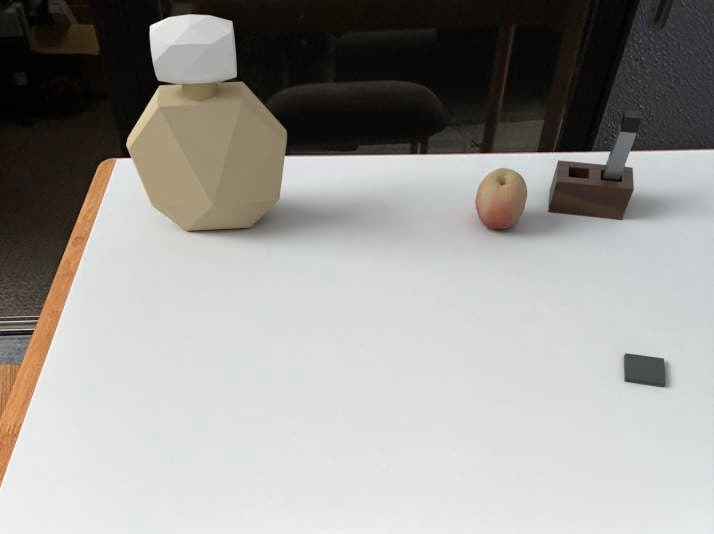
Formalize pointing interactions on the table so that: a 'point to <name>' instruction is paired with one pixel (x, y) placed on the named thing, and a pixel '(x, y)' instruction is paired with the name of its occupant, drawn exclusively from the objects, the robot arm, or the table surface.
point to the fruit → (501, 198)
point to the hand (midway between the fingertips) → (687, 21)
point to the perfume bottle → (205, 131)
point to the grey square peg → (622, 145)
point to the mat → (644, 370)
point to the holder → (589, 191)
